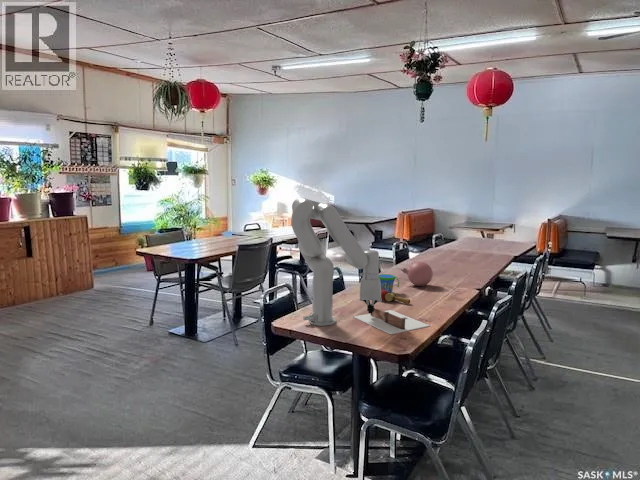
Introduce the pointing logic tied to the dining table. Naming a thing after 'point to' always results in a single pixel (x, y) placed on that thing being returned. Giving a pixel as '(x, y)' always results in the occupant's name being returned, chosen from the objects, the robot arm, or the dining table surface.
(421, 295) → the dining table surface
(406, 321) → the card
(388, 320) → the base
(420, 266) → the balloon
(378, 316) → the swing panel
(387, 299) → the kendama
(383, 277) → the snack cup
